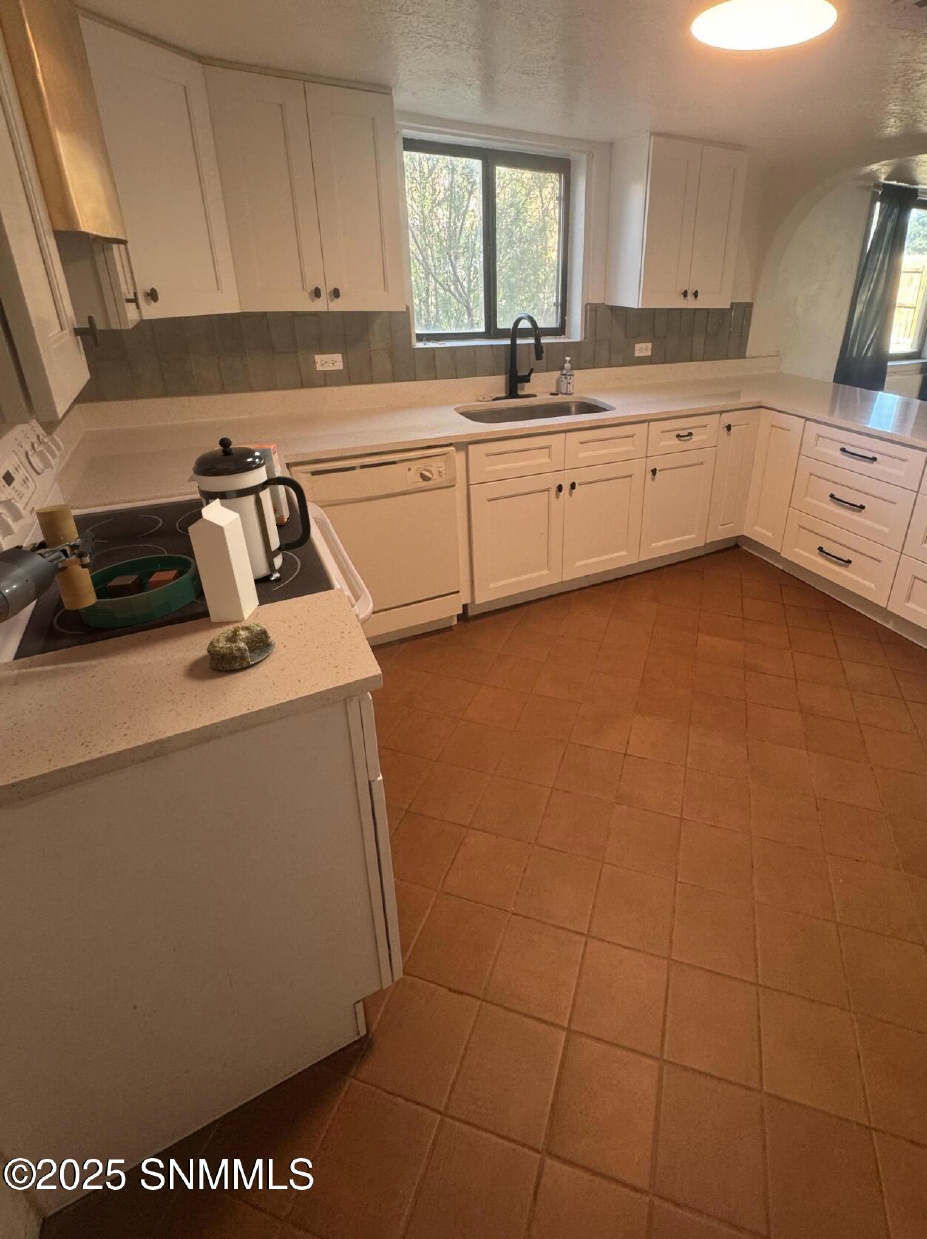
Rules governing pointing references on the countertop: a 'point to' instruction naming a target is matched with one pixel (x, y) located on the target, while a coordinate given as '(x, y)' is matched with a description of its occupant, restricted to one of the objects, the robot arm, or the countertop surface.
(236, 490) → the coffee press
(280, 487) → the cracker box
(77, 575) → the tan cylinder
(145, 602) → the bowl
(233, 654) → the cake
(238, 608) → the milk
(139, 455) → the countertop surface
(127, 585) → the walnut block
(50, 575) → the robot arm
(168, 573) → the terracotta block
